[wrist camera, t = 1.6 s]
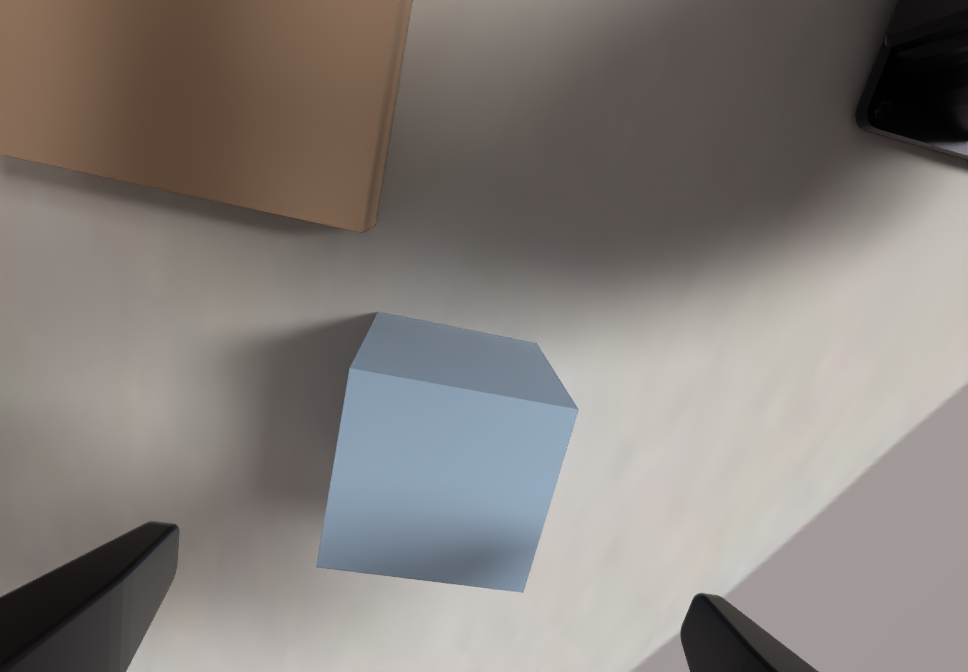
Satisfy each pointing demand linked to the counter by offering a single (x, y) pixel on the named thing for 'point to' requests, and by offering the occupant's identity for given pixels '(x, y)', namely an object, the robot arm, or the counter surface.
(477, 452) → the slate cube
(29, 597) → the robot arm
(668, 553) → the counter surface
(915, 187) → the counter surface
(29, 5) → the walnut block
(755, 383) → the counter surface
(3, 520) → the counter surface
